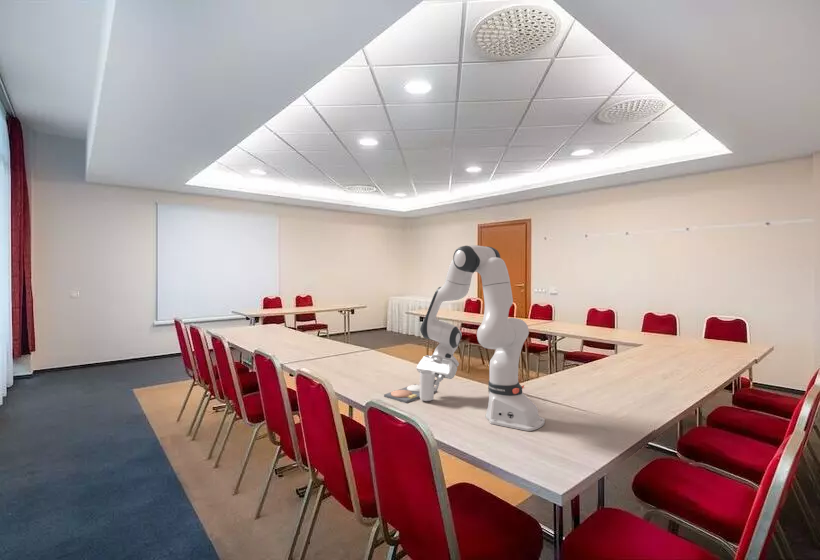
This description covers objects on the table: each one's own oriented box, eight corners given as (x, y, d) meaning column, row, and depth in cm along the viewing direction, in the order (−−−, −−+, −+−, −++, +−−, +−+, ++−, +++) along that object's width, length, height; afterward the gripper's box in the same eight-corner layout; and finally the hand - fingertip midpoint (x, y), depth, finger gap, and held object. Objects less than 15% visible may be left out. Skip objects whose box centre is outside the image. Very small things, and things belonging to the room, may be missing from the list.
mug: (423, 402, 173) (424, 375, 172) (416, 396, 179) (417, 371, 178) (443, 398, 178) (443, 372, 177) (435, 393, 184) (435, 368, 182)
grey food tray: (437, 391, 191) (437, 387, 190) (406, 403, 174) (406, 399, 174) (415, 386, 200) (415, 382, 200) (384, 396, 184) (384, 392, 184)
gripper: (421, 351, 190) (408, 375, 183) (456, 356, 176) (443, 382, 169) (427, 358, 193) (414, 382, 186) (462, 364, 179) (449, 390, 172)
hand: (428, 382), depth 177 cm, fingers closed on mug, 6 cm apart
